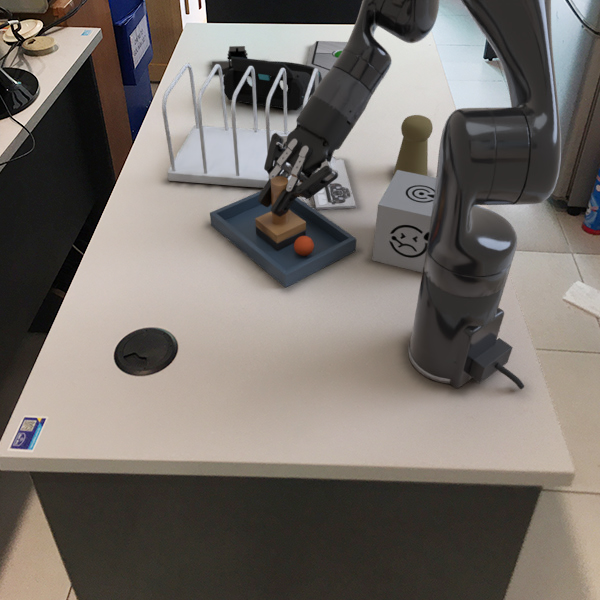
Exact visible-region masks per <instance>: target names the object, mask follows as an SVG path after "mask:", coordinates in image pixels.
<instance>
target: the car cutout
mask: <svg viewBox="0 0 600 600" xmlns="http://www.w3.org/2000/svg"><path fill="white" fill-rule="evenodd" d="M330 164H331V166H332V168H333V170H334V171H335V172H337V173H338V177H337V178H336V179H335V180H334V181H333V182H331V183H330V184H328V185H327V186H326V187H324V188H323V189H322V190H320V191H319V192H318V193H316V194H315V195H313V196H312V197H313V201H314V206H315V210H316V211H318V210H335V209H336V210H338V209H339V210H340V209H354V208H356V202H355V198H354V194H353V190H352V187H351V183H350V179H349V176H348V172H347V168H346V165H345V161H344V159H343V158H342V159H336V157H335V156H332V159H331V161H330ZM316 172H317V170H316ZM316 172H315V173H316Z"/></svg>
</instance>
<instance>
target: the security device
mask: <svg viewBox="0 0 600 600" xmlns="http://www.w3.org/2000/svg"><path fill="white" fill-rule="evenodd" d="M347 42H348V41H331V40H315V42H314V43H313V44H312V45H311V46H310V48H309V52H308V56H307V61H306V64H305V65H307V66H311V67H314V68H317V69H318V71H319V72H320V73H321V77H322V79H323V78H324V76H325V75H326V74H327V73H328V72H329V71H330V69H331V68H332V66H333V65H334V63H335V62H336V60H337V59H338V57H339V55H340V54H341V52H342V51H343V49H344V47H345V46H346V44H347Z"/></svg>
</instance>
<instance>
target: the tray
mask: <svg viewBox="0 0 600 600" xmlns="http://www.w3.org/2000/svg"><path fill="white" fill-rule="evenodd" d="M261 191H262V190H260V191H257V192H255V193H252V194H251V195H248V196H245V197H243V198H241V199H239V200H236V201H233V202H231V203H229V204H227V205H225V206H222V207H220V208H217V209H216V210H212V211H211V212H209V219H210V225H211V227H212V228H214V229H215V230H217V231H218V232H219V233H220V234H221V235H222V236H223V237H225V238H226V239H227V240H228V241H229V242H231V243H232V245H234V246H235V247H236V248H238V249H239V250H240V251H241V252H242V253H243V254H245V255H246V256H247V257H248V258H250V259H251V260H252V261H253V262H255V263H256V265H258V266H259V267H260V268H261V269H263V270H264V271H265V272H266V273H267V274H269V276H271V278H273V279H274V280H275V281H277V282H278V283H279V284H280V285H282V286H283V287H284V288H288V287H290V286H292V285H294V284H295V283H297V282H299V281H301V280H303V279H306V278H307V277H309V276H311V275H313V274H315V273H317V272H319V271H320V270H322V269H324V268H326V267H328V266H330V265H332V264H333V263H335V262H337V261H339V260H341V259H343V258H345V257H348V255H351V254H353V253H354V252H356V250H357V238H356V236H353V235H352V234H351V233H349V232H348V231H346V230H345V229H344V228H342V227H341V226H339V225H338V224H337V223H335V222H334V221H332V220H331V219H329V218H328V217H326V216H325V215H324V214H322V213H321V212H319V211H318V210H316V208H313V207H312V206H311V205H309V204H308V203H306V202H305V201H303V200H302V199H300V197H297V198H296V199H295V200H294V202H293V204H292V205H291V207H290V208H289V210H290V211H292V212H293V213H294V214H296V215H297V216H299V217H300V218H301V219H303V220H304V221H305V222H306V236H307V237H309V238H311V239H312V241H313V243H314V249H313V251H312V252H311V253H310V254H309V255H307V256H301V255H299V254H297V253H296V251H295V249H294V243H293V244H291V245H289V246H287V247H285V248H283V249H281V250H279V251H277V250H275V249H274V248H273V247H272V246H271V245H269V244H268V243H267V242H266V241H264V240H263V239H262V238H261V237H259V236H258V235H257V234H256V223H255V218H257V217H260V216H262V215H264V214H266V213H269V212H271V208H272V203H271V205H270V206H269V207H266V206H264V205H262V204H261V203H259V202H258V199H259V195H260V193H261Z"/></svg>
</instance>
